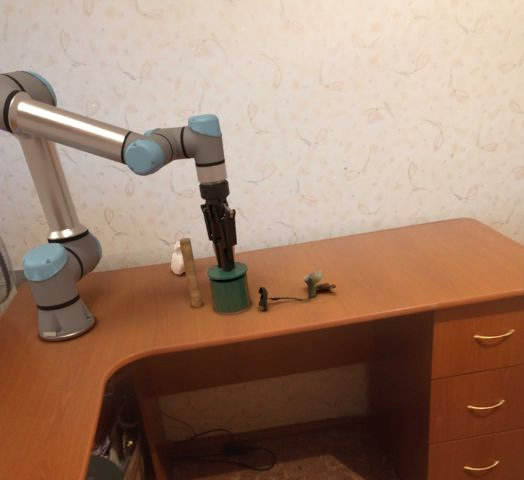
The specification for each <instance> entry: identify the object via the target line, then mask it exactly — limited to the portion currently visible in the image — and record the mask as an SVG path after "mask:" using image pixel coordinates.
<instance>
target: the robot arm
mask: <svg viewBox="0 0 524 480" xmlns="http://www.w3.org/2000/svg"><path fill="white" fill-rule="evenodd" d="M0 130H1V131H3V132H7V133H9V134H10V136H12V137H14V138H15V139H17V140H18V141H19V144H20V147H21V150H22V153H23V156H24V159H25V162H26V165H27V167H28V171H29V173H30V177H31V179H32V183H33V185H34V188H35V191H36V194H37V197H38V199H39V203H40V206H41V208H42V212H43V214H44V217H45V219H46V223H47V225H48V229H49V230H48V231H47V234H46V235H45V237H46V240H47V243H45V244H41V245H39V246H38V247H34V248H32V249H30V250H29V251H27V252H26V253H25V254H24V256H22V259H21V265H22V268H23V274H24V277H25V278H26V280H27V284H28V286H29V289H30V292H31V294H32V297H33V299H34V303H35V305H36V308H37V330H38V334H39V337H40V339H41V340H43V341H46V342H52V343H53V342H64V341H69V340H72V339H75V338H78V337H81V336H83V335H85V334H86V333H88V332H89V331H90V330H91V329H92V328H93V327H94V326H95V323H96V321H95V317H94V316H93V313H92V311H90V309H89V308H88V306H87V305H86V304H85V303H84V301H83V300H82V298H81V294H80V292H79V291H80V290H79V288H78V285H77V283H78V282H80V281H81V280H82V279H83V278H85V277H86V276H87V275H89V274H90V273H91V272H93V271H94V270H95V269H96V268H97V267H98V265H99V264H100V262H101V260H102V257H103V249H102V245H101V242H100V241H99V239H98V237H97V236H96V235H94V234H93V233H92V232H90V230H89V227H88V225H86V224H84V223H83V222H81V220H80V217H79V213H78V210H77V207H76V203H75V200H74V197H73V193H72V191H71V188H70V185H69V181H68V179H67V175H66V172H65V169H64V166H63V162H62V159H61V156H60V152H59V149H58V146H57V144H59V145H62V146H65V147H68V148H71V149H75V150H78V151H81V152H83V153H88V154H91V155H93V156H97V157H99V158H102V159H106V160H110V161H113V162H116V163H118V164H122V165H124V166H127V167H128V168H129V170H130V171H131V172H132V173H133V174H135V175H137V176H141V177H146V176H150V175H153V174H156V173H158V172H159V171H160V170H161V169H162V168H164V167H165V166H167V165H169V164H171V163H172V162H173V161H180V160H191V159H193V160H194V165H195V171H196V178H197V182H198V183H199V185H198V188H199V194H200V198H201V199H202V200H204V201H205V202H204V203H203V204H200V205H199V206H200V210H201V213H202V214H203V220H204V224H205V228H206V229H205V230H206V233H207V238H208V241H210V242H212V243H213V244H214V245H215V250H216V256H217V260H216V262H218V264H217V265H218V268H222V267H221V261H220V254H219V248H218V242H219V241H221V240H222V241H223V247H221V248H222V251H223V257H224V264H225V270H226V271H229V270H232V269H234V268H235V264H234V255H233V248H232V247H233V246H237V245H238V237H237V236H238V235H237V224H236V214H237V212H236V208H232V209H231V207H230V205H229V202H228V199H227V198H228V197H229V196H230V194H231V192H230V191H231V190H230V185H229V181H228V180H227V179H228V173H227V172H228V171H227V164H226V157H225V151H224V142H223V141H224V140H223V133H222V129H221V125H220V120H219V117H218V116H217V115H216V114H214V113H206V114H199V115H198V114H197V115H194V116H190V117H189V118H188V119H187V125H183V126H177V127H176V126H175V127H164V128H161V127H157V128H154V129H148V130H146V131H145V132H144V134H142V133H139V132H135V131H133V130H130V129H127V128H123V127H120V126H117V125H114V124H111V123H108V122H104V121H101V120H98V119H96V118H92V117H89V116H86V115H82V114H79V113H76V112H73V111H70V110H67V109H63V108H61V107H58V99H57V95H56V92H55V90H54V88H53V86H52V85H51V83H50V82H49V81H48V80H47V79H46V78H45V77H43V76H42V75H41V74H39V73H37V72H35V71H30V70H16V71H10V72H4V73H0ZM216 256H215V257H216Z"/></svg>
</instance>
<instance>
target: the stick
mask: <svg viewBox="0 0 524 480" xmlns="http://www.w3.org/2000/svg"><path fill="white" fill-rule="evenodd" d="M179 241H180V247H181V252H182V257H183V262H184V267H185V272H184V273H185V277H186V282H187V286H188V292H189V297H190V302H191V306H193V307H199V306H201V305H202V304H203V301H202V295H201V289H200V285H199V280H198V279H199V278H198V273H197V267H196V263H195V259H194V258H195V257H194V252H193V247H192V241H191V238H190V237H184V238H183V237H182V238H181V239H179V240H178V242H179Z"/></svg>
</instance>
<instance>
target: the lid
mask: <svg viewBox="0 0 524 480" xmlns="http://www.w3.org/2000/svg"><path fill="white" fill-rule="evenodd" d="M221 247H223V241H222V240H221V241H219V242H218V248H219V254H220V261H221V267H222V268H218V264H215V265H212V266H210V267H209V268H208V269H207V270H206V276H207V277H208V279H209V278H211V279H216V280H227V279H233V278H236V277H239V276H241V275H243V274H245V273H247V272H248V270H249V267H248V265H247V264H246V263H245V262H241V261H239V262H238V261H236V262H234V264H235V268H234V269H232V270H229V271H226V270H225V264H224V257H223V251H222V248H221Z"/></svg>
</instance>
